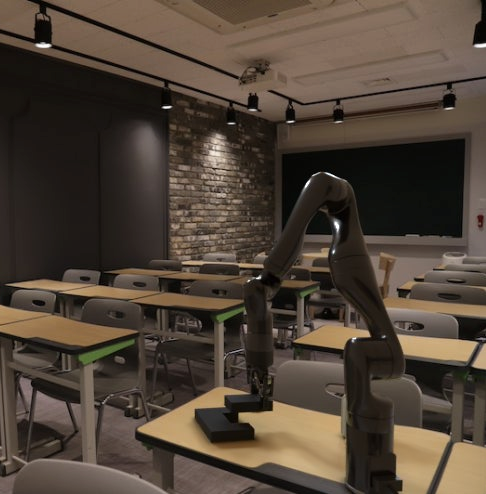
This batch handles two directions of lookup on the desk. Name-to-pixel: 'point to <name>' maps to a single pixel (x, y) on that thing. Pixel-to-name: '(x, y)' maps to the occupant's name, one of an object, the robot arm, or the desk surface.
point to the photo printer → (343, 416)
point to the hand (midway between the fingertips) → (259, 405)
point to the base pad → (223, 425)
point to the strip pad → (245, 403)
